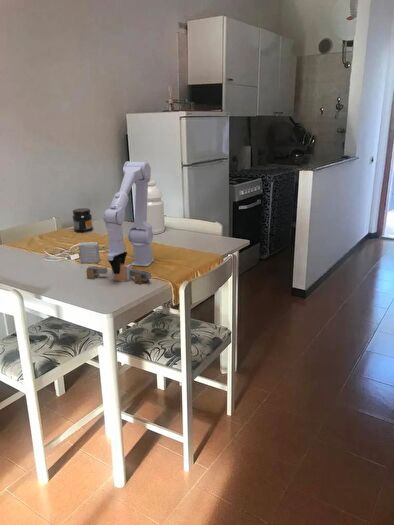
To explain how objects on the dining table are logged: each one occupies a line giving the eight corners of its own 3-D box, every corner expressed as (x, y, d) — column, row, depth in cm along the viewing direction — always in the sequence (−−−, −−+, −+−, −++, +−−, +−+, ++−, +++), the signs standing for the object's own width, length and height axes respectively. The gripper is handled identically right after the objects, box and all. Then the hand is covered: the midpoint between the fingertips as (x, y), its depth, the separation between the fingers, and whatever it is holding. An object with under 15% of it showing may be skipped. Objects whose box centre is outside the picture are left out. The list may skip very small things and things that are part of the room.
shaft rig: (91, 274, 178) (90, 265, 176) (155, 278, 172) (154, 269, 170) (83, 280, 171) (82, 271, 170) (149, 285, 165) (149, 275, 164)
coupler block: (116, 276, 174) (114, 263, 172) (132, 278, 173) (131, 264, 171) (112, 279, 171) (111, 265, 169) (129, 281, 169) (127, 266, 168)
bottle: (135, 234, 234) (131, 182, 224) (145, 227, 246) (142, 178, 237) (159, 235, 230) (156, 183, 220) (168, 229, 242) (166, 179, 233)
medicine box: (100, 259, 195) (98, 241, 192) (98, 263, 191) (96, 244, 188) (82, 260, 195) (80, 242, 192) (80, 263, 190) (78, 245, 187)
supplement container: (97, 229, 245) (95, 209, 241) (83, 234, 237) (81, 212, 232) (84, 227, 250) (81, 207, 246) (70, 231, 242) (67, 210, 238)
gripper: (113, 233, 174) (116, 265, 179) (98, 244, 161) (101, 277, 165) (130, 234, 173) (132, 266, 177) (115, 245, 159) (118, 278, 164)
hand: (118, 271), depth 171 cm, fingers closed on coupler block, 3 cm apart
